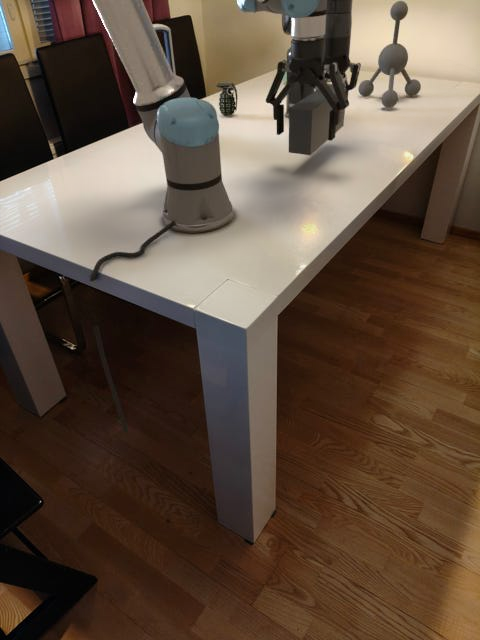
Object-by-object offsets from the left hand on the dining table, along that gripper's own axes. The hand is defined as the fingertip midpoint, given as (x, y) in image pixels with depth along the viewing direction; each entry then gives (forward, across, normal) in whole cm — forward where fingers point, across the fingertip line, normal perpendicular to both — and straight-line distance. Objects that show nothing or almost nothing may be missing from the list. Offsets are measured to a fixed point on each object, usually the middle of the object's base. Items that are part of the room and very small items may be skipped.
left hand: (305, 136), depth 120 cm
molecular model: (+10, -4, -75) cm, 75 cm away
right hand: (-3, 0, -18) cm, 18 cm away
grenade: (+9, +44, -38) cm, 59 cm away
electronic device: (+9, +52, -14) cm, 54 cm away
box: (+3, 0, -9) cm, 10 cm away
